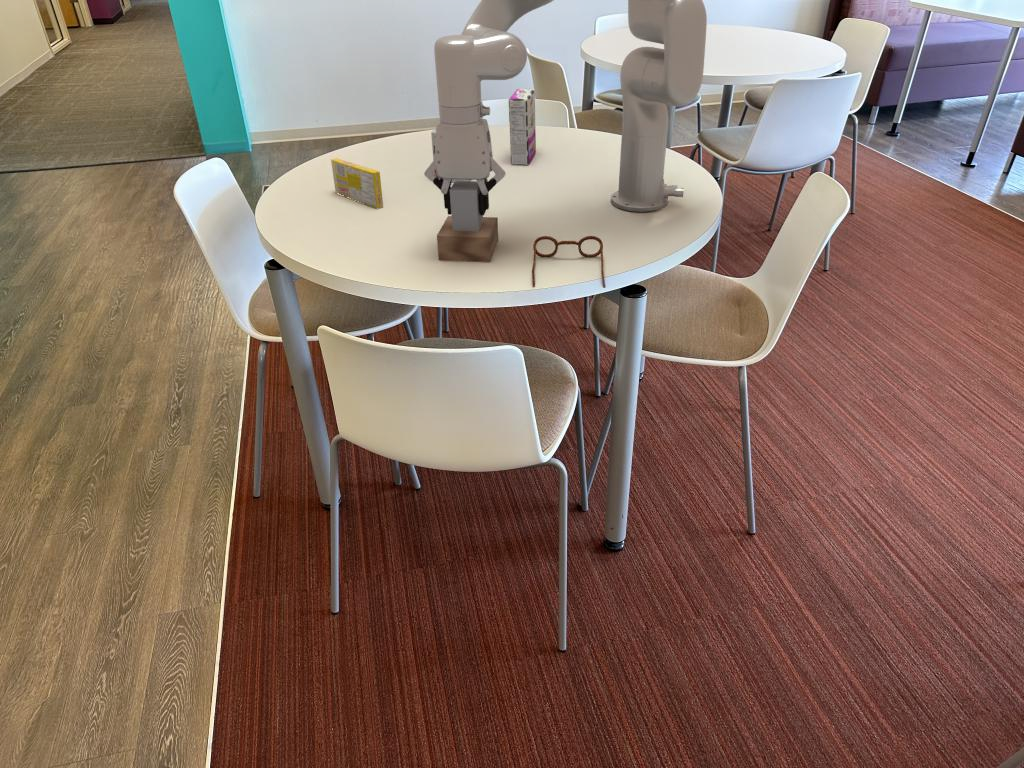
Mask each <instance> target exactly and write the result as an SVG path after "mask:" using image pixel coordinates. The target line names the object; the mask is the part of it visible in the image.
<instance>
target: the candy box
mask: <svg viewBox="0 0 1024 768" xmlns="http://www.w3.org/2000/svg"><path fill="white" fill-rule="evenodd" d="M330 161H331V162H330V163H331V171H332V176H333V177H332V178H333V183H334V190H335V194H336V193H339V194H341V195H344V196H346V197H349V198H351V199H353V200H352V201H354V200H356V201H355V202H357V201H359V202H361V204H362V203H364V204H363V205H365V204H367V205H366V206H368V205H369V206H368V207H370V208H373V207H374V209H376V208H380V209H382V208H384V202H383V191H382V183H381V173H380V171H378V170H376V169H373V168H369V167H366V166H362V165H359V164H356V163H352V162H349V161H346V160H343V159H340V158H338V157H337V158H333V159H330ZM346 197H345V198H346ZM351 199H350V200H351ZM359 202H358V203H359ZM381 207H382V208H381Z"/></svg>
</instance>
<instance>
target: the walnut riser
mask: <svg viewBox="0 0 1024 768" xmlns="http://www.w3.org/2000/svg"><path fill="white" fill-rule="evenodd" d="M498 219H499V218H498V217H497V216H495V217H492V216H483V223H482V225H481V228H480V230H479V232H472V231H453V229H452V215H447V217H446V219H445V220H444V223H443V224H442V226H441V227H440V229H439V231H438V232H437V234H436V242H437V243H436V244H437V255H438V261H444V262H445V261H446V262H447V261H449V262H471V263H472V262H473V263H491V261H492V260H493V257H494V254H495V251H496V249H497V246H498V244H499V240H500V239H499V223H498V222H499V220H498Z"/></svg>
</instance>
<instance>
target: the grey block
mask: <svg viewBox="0 0 1024 768" xmlns="http://www.w3.org/2000/svg"><path fill="white" fill-rule="evenodd" d="M451 185H452V186H450V187H451V188H450V202H451V215H450V216H452V229H453V231H472V232H479V230H480V228H481V225H482V223H483V217H484V216H482V215H480V207H479V195H480V191H481V190H480V187H479V185H478V182H477V180H476V181H475V180H470V181H455V182H453V184H451Z"/></svg>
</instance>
